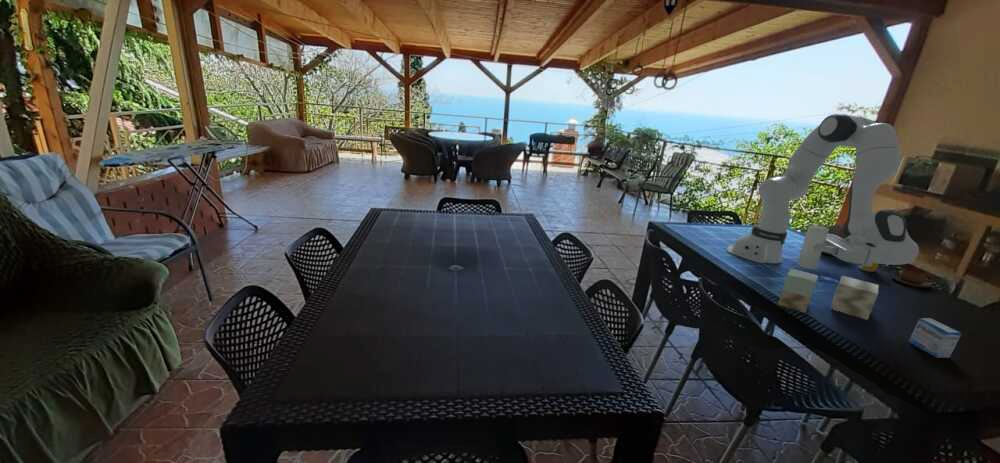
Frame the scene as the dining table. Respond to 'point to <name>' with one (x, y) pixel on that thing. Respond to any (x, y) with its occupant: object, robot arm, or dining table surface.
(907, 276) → the cup and saucer
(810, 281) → the tower block upper
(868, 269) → the beer can
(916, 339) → the medicine box
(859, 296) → the shelf block
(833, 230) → the cantaloupe
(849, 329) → the dining table surface
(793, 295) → the tower block lower
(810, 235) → the canister
